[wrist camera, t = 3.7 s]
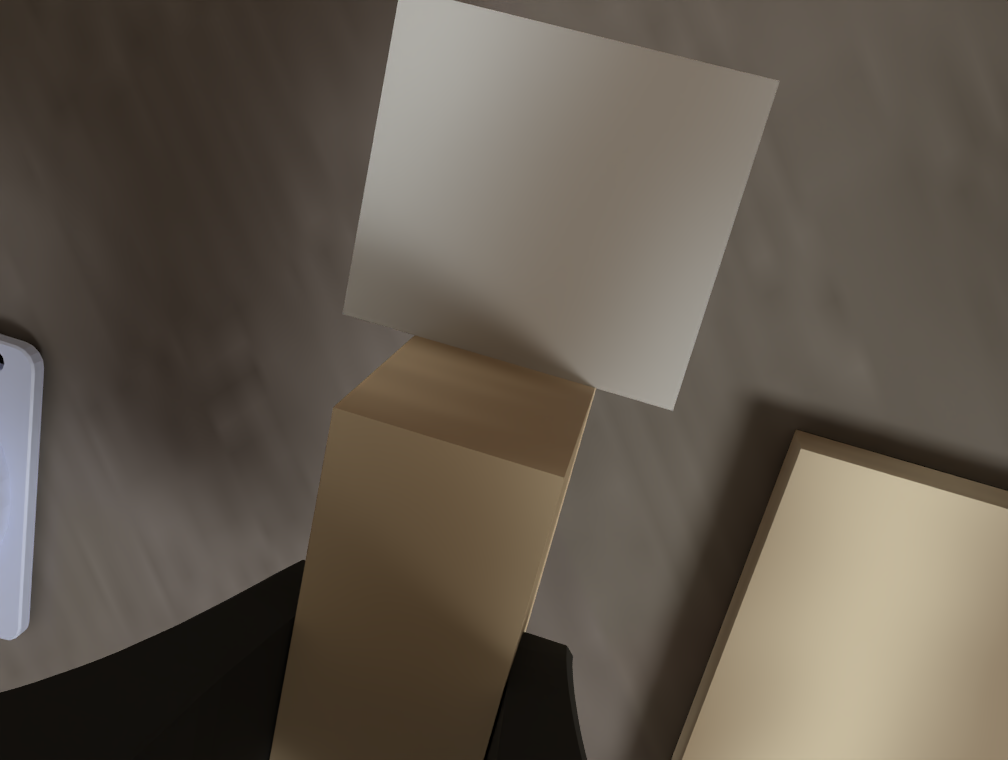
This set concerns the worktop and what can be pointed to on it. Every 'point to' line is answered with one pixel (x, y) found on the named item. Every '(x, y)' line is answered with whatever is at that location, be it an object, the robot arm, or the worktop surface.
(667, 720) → the worktop surface
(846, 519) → the tool board
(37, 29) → the worktop surface
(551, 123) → the turner
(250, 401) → the worktop surface
